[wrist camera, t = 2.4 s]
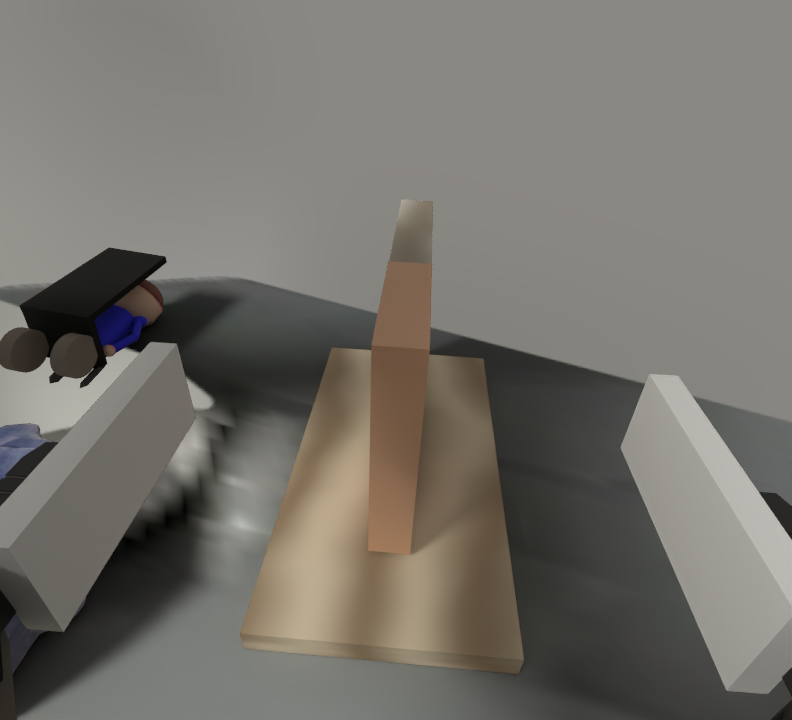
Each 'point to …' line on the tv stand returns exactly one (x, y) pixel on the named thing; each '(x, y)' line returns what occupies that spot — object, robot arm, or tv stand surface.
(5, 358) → the figurine character
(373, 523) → the orange rectangular panel
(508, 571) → the stand
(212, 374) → the tv stand surface
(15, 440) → the mineral
